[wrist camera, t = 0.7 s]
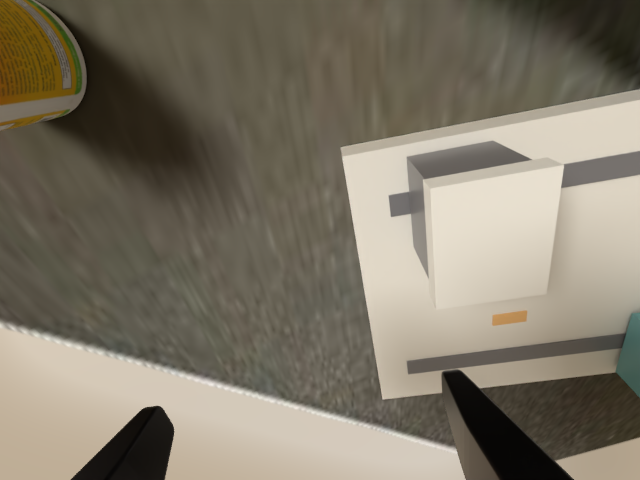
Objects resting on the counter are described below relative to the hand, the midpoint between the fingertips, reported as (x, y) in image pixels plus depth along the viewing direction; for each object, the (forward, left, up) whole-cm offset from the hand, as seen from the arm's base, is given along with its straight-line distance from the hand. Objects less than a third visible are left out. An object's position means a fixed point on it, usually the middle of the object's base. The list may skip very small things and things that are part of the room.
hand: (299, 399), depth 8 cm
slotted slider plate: (-14, +6, -13) cm, 20 cm away
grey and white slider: (-7, 0, -11) cm, 13 cm away
